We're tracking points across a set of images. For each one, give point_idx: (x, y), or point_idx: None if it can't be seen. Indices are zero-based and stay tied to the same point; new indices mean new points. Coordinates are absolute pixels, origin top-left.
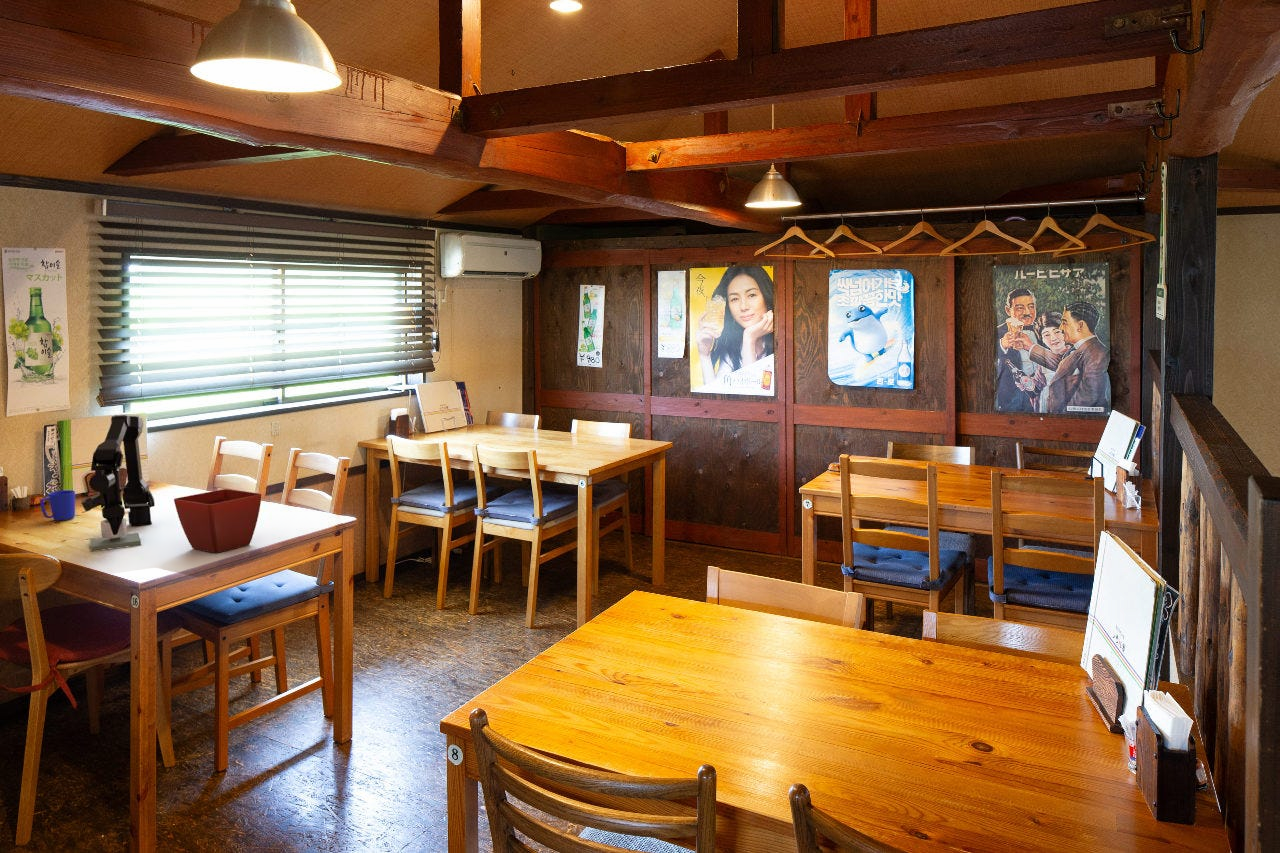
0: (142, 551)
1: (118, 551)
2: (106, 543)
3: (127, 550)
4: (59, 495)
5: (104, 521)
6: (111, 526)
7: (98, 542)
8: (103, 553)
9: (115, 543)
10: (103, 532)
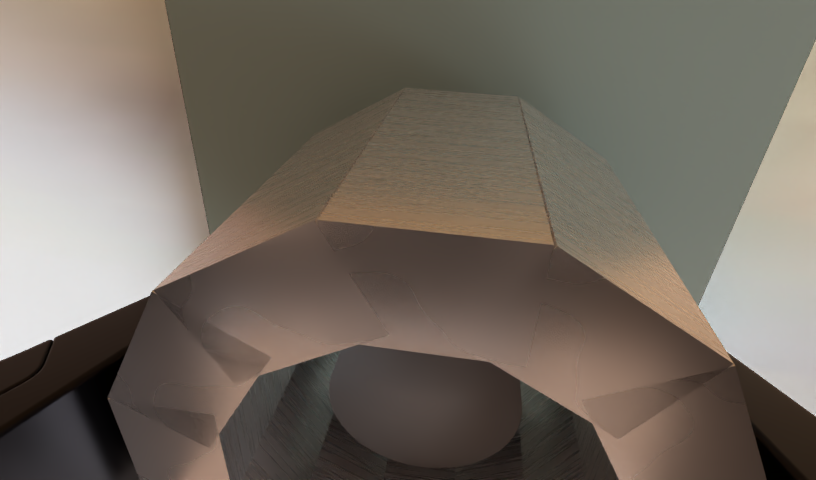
0: (27, 335)
1: (80, 183)
2: (271, 113)
3: (97, 255)
4: None
5: (442, 340)
6: (69, 347)
7: (407, 10)
8: (27, 28)
9: (216, 208)
10: (323, 147)
